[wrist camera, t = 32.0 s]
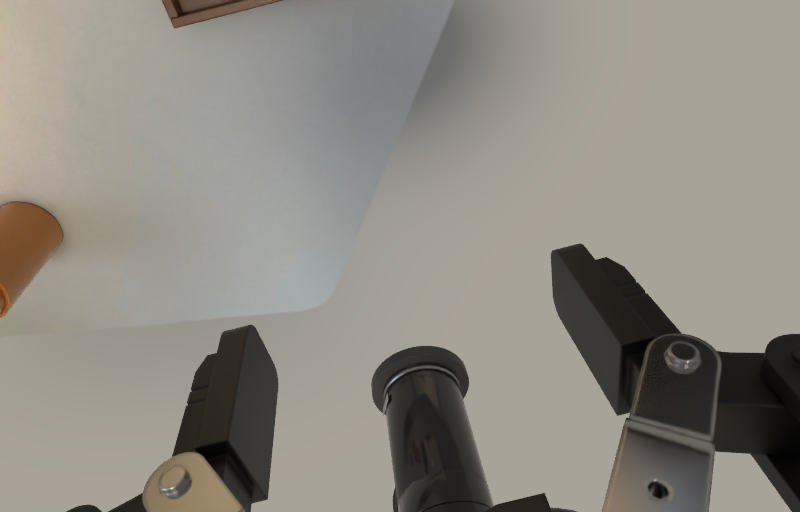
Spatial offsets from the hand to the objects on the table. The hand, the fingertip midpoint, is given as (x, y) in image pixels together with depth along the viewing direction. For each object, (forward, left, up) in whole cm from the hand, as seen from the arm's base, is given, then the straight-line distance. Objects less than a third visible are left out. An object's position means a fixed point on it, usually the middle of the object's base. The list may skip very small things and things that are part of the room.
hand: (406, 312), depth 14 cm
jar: (-7, +30, -30) cm, 43 cm away
